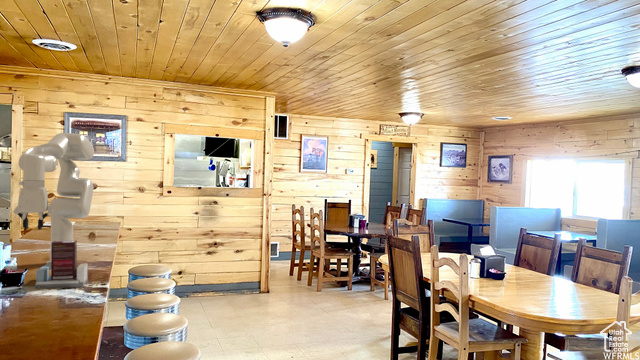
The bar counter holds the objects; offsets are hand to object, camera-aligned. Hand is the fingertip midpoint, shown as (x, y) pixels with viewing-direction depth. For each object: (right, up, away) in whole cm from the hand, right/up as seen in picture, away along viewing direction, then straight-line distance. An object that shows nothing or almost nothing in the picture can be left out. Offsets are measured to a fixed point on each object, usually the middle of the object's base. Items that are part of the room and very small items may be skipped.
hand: (33, 228), depth 196 cm
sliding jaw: (+6, -20, -2) cm, 21 cm away
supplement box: (+15, -21, -4) cm, 26 cm away
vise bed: (+14, -22, -4) cm, 27 cm away
